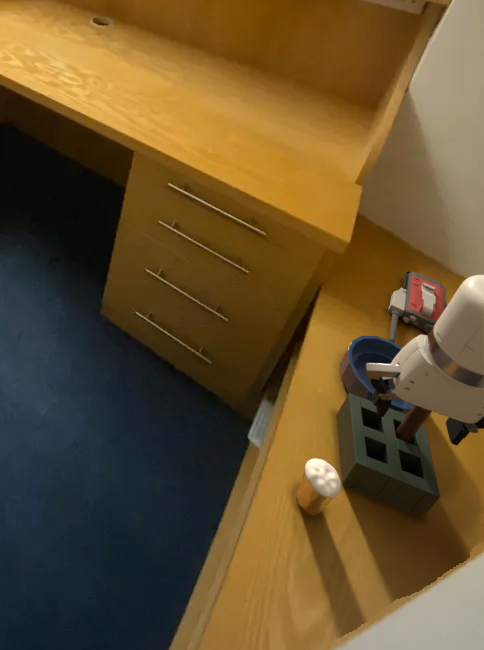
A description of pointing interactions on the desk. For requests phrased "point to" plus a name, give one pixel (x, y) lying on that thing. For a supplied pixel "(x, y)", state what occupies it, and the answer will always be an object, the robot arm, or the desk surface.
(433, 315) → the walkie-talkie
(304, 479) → the beer glass
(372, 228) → the desk surface
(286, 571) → the desk surface
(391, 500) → the holder
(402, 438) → the stick
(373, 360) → the bowl
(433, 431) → the desk surface
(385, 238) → the desk surface
